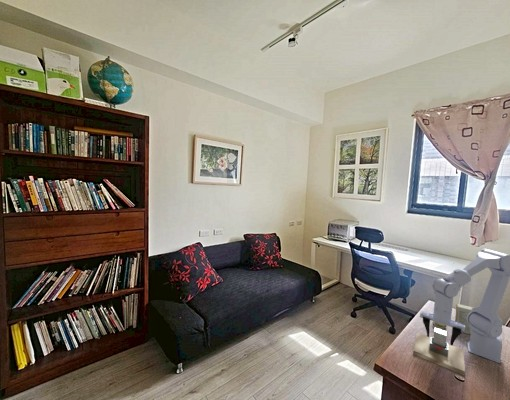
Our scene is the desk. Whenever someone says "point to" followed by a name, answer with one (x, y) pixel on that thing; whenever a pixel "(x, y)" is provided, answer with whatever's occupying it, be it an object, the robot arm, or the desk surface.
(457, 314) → the skincare box
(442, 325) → the supplement bottle
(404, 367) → the desk surface
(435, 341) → the column
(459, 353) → the stand base
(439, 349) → the sleeve
